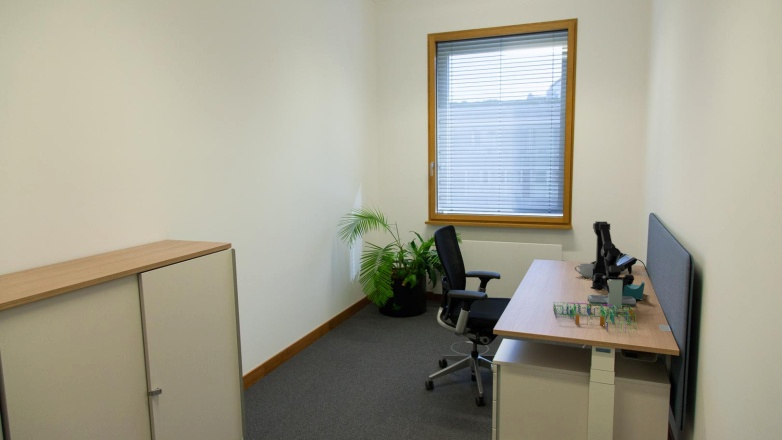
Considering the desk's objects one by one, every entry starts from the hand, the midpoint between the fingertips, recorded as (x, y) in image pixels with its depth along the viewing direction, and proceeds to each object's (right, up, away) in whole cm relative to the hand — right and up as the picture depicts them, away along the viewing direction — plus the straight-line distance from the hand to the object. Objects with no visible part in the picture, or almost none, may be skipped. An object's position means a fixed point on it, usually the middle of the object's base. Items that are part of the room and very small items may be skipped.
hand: (615, 293), depth 249 cm
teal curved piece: (+19, -6, +23) cm, 30 cm away
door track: (+2, -7, +9) cm, 12 cm away
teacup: (+13, 0, +73) cm, 74 cm away
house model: (-19, -10, -20) cm, 29 cm away
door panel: (0, -7, +2) cm, 8 cm away
